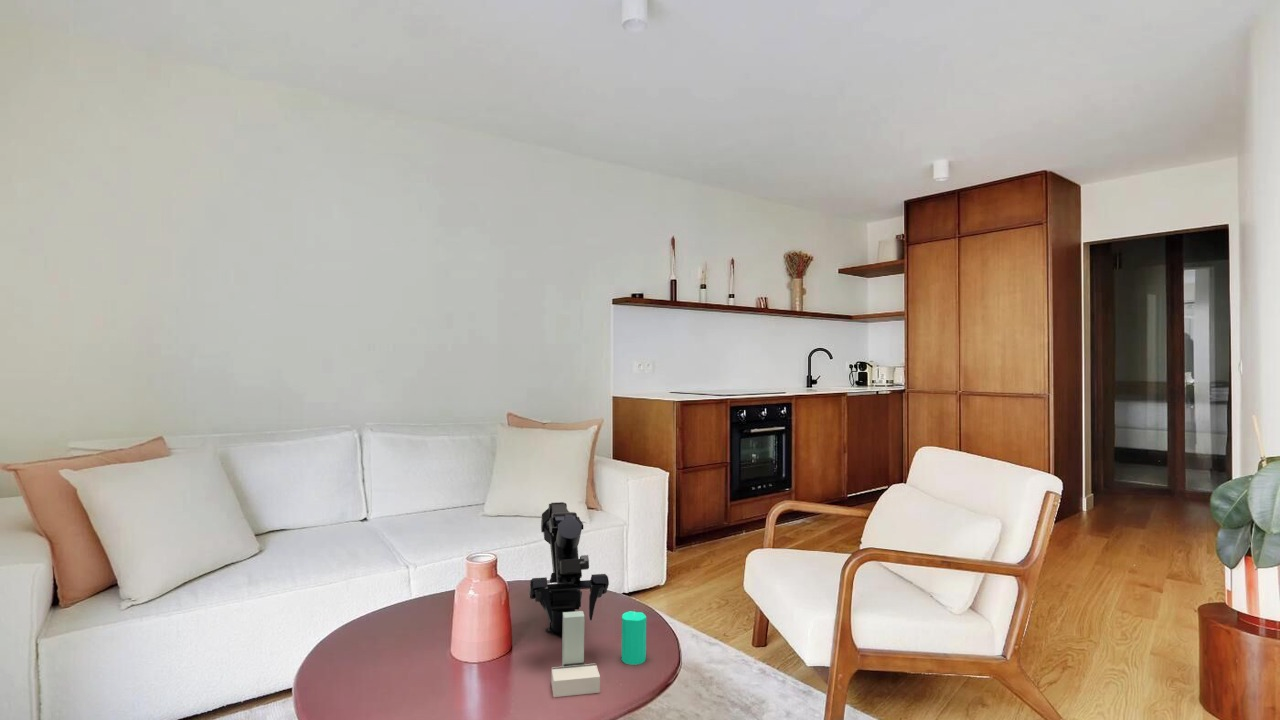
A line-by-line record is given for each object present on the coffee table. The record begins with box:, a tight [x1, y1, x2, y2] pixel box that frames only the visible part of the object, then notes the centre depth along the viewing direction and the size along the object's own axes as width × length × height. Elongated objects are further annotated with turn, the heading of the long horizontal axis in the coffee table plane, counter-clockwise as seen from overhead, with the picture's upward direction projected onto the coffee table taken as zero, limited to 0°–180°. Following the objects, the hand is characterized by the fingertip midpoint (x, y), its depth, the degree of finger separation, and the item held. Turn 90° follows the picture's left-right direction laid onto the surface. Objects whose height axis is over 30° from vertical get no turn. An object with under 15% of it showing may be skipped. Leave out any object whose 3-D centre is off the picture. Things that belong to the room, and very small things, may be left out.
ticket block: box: [550, 663, 601, 698], centre depth 143 cm, size 6×10×4 cm, turn 102°
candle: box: [621, 609, 647, 666], centre depth 156 cm, size 6×6×12 cm
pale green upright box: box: [561, 610, 585, 667], centre depth 148 cm, size 3×5×14 cm, turn 103°
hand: (571, 621), depth 151 cm, fingers open, 9 cm apart
